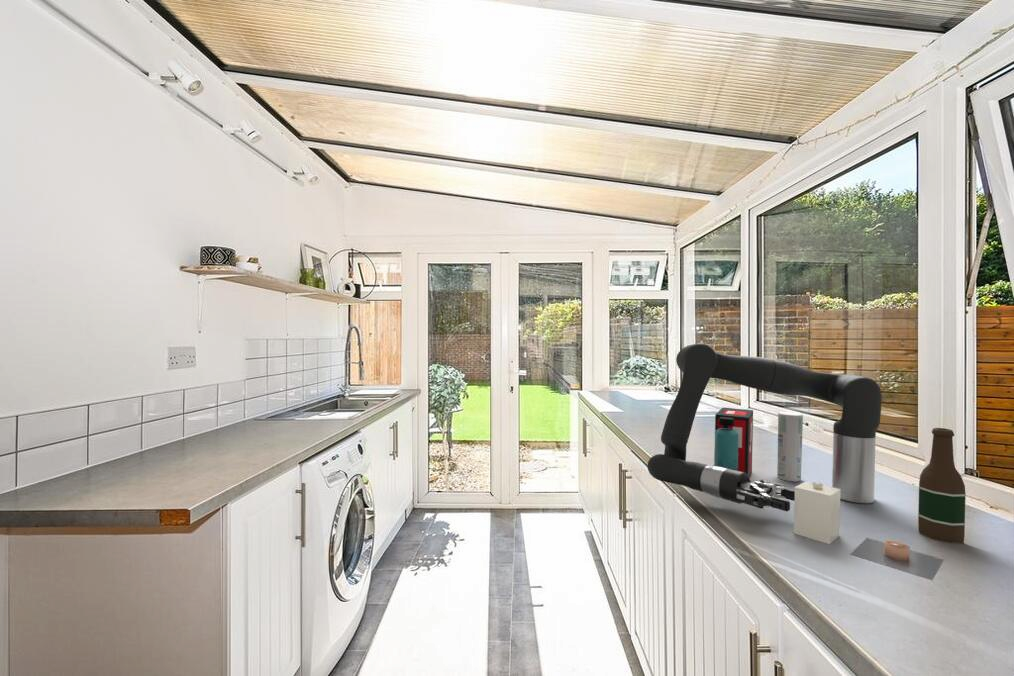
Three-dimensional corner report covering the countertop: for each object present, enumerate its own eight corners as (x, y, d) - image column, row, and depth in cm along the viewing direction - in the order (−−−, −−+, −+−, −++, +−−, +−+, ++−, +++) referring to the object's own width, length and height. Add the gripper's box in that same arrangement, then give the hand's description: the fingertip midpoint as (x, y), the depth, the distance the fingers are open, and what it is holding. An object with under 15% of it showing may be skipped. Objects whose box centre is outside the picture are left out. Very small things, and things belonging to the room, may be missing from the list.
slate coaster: (866, 541, 99) (866, 537, 99) (943, 563, 89) (943, 559, 89) (849, 558, 91) (850, 554, 91) (931, 584, 82) (932, 579, 82)
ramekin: (889, 550, 93) (890, 538, 93) (913, 559, 89) (913, 546, 89) (879, 554, 91) (880, 542, 91) (903, 563, 88) (904, 550, 88)
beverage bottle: (741, 491, 130) (742, 420, 129) (715, 489, 131) (717, 418, 131) (734, 483, 136) (736, 416, 136) (710, 482, 137) (712, 414, 137)
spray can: (803, 482, 138) (805, 416, 138) (778, 479, 140) (780, 414, 140) (798, 476, 144) (800, 412, 144) (774, 474, 146) (776, 411, 146)
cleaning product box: (721, 467, 152) (722, 407, 152) (751, 472, 148) (753, 410, 148) (714, 480, 138) (715, 414, 138) (747, 486, 134) (748, 417, 134)
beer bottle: (956, 550, 95) (958, 434, 95) (909, 535, 102) (912, 427, 102) (971, 542, 99) (974, 431, 99) (925, 528, 106) (928, 424, 105)
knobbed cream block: (804, 526, 105) (805, 476, 105) (839, 536, 100) (840, 484, 99) (793, 533, 100) (794, 482, 100) (829, 544, 95) (830, 490, 95)
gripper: (710, 473, 111) (784, 492, 98) (737, 463, 120) (809, 479, 107) (710, 504, 111) (784, 527, 98) (737, 492, 120) (808, 511, 107)
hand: (797, 502), depth 103 cm, fingers open, 8 cm apart
